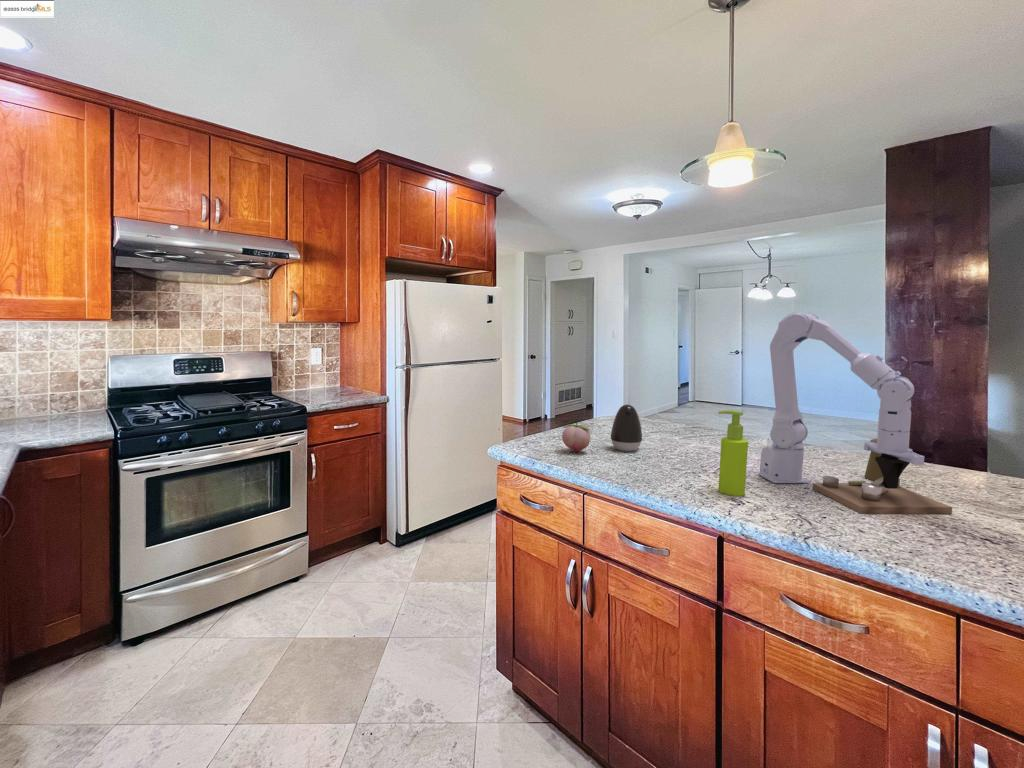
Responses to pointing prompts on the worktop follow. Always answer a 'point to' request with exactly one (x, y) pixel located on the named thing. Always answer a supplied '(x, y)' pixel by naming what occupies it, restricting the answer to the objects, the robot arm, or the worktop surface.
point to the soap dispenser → (733, 458)
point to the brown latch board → (889, 503)
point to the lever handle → (873, 490)
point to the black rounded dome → (626, 429)
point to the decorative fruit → (576, 437)
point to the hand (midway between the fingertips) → (889, 487)
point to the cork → (873, 466)
